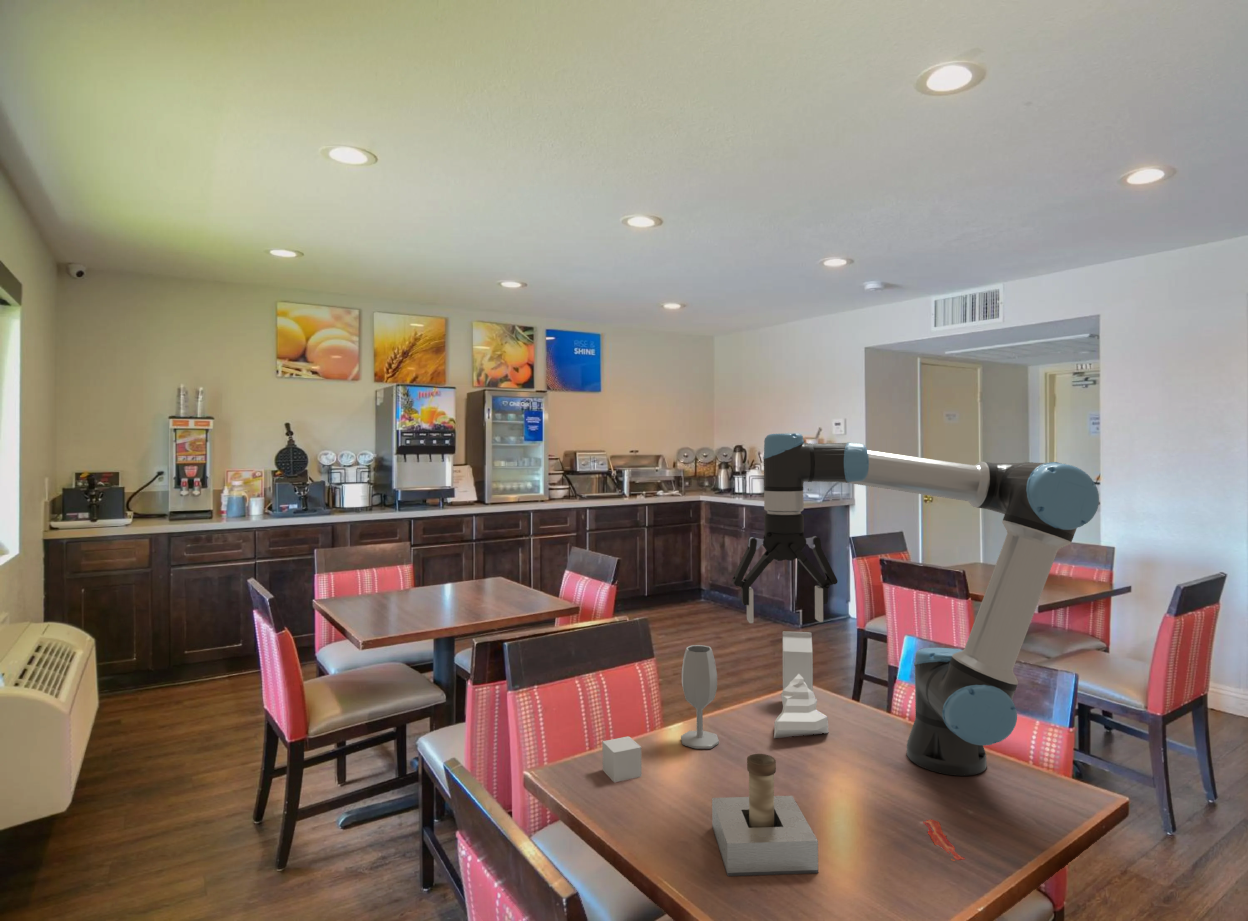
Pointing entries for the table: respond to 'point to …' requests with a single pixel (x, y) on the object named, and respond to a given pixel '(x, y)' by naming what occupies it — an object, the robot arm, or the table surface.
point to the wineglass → (699, 692)
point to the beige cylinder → (761, 790)
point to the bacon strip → (940, 838)
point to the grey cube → (621, 759)
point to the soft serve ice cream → (799, 712)
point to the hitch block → (764, 839)
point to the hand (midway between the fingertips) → (784, 621)
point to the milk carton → (797, 657)
